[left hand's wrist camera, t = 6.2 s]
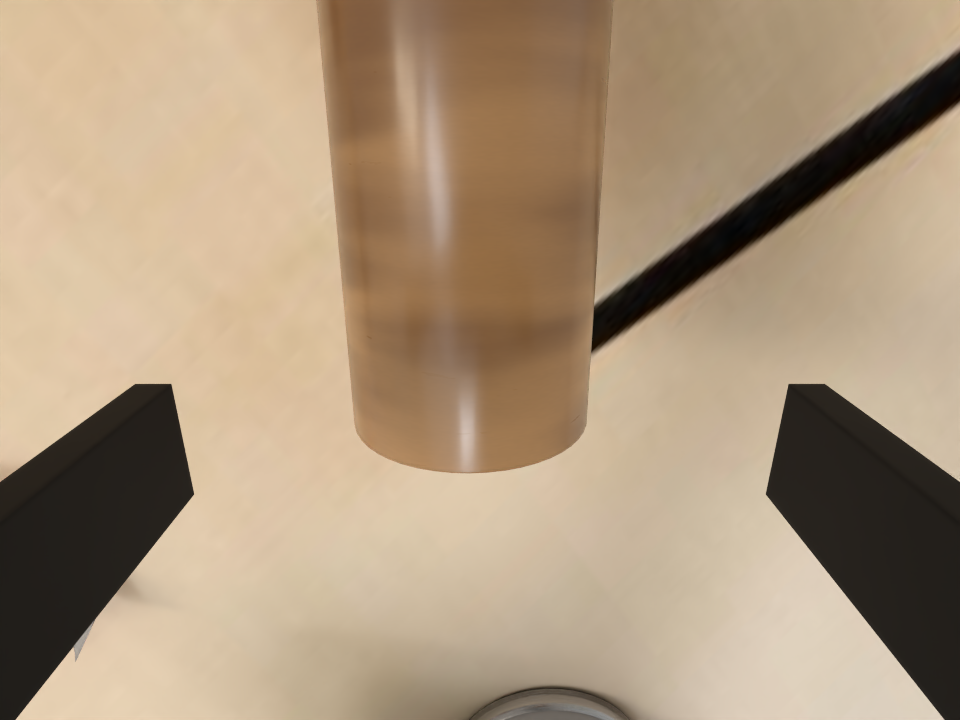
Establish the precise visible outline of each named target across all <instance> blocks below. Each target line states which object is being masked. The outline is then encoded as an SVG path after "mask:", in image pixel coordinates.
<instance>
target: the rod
mask: <svg viewBox="0 0 960 720" xmlns="http://www.w3.org/2000/svg"><path fill="white" fill-rule="evenodd" d="M317 10H318V21H319V33H320V44H321V55H322V66H323V77H324V88H325V99H326V110H327V121H328V133H329V144H330V155H331V166H332V177H333V188H334V199H335V210H336V221H337V233H338V244H339V255H340V266H341V277H342V288H343V299H344V310H345V321H346V333H347V344H348V355H349V366H350V377H351V388H352V399H353V410H354V421H355V428H356V431H357V434H358V435H359V437H360V438H361V440H362V441H363V442H364V443H365V444H366V445H367V446H368V447H369V448H370V449H372V450H373V451H375V452H376V453H378V454H380V455H382V456H384V457H386V458H388V459H390V460H392V461H395V462H398V463H401V464H404V465H408V466H411V467H415V468H420V469H426V470H431V471H439V472H450V473H485V472H496V471H504V470H510V469H515V468H521V467H525V466H528V465H532V464H536V463H539V462H541V461H544V460H547V459H549V458H552V457H554V456H556V455H558V454H560V453H562V452H563V451H565V450H566V449H568V448H569V447H571V446H572V445H573V444H574V443H575V442H576V441H577V440H578V439H579V438H580V436H581V435H582V433H583V432H584V429H585V427H586V421H587V405H588V390H589V374H590V358H591V342H592V327H593V311H594V295H595V279H596V264H597V248H598V232H599V216H600V201H601V185H602V169H603V153H604V138H605V122H606V106H607V90H608V74H609V59H610V43H611V27H612V11H613V0H317Z"/></svg>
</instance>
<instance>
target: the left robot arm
mask: <svg viewBox="0 0 960 720" xmlns="http://www.w3.org/2000/svg"><path fill="white" fill-rule="evenodd" d="M193 495H194V491H193V487H192V482H191V477H190V472H189V467H188V462H187V458H186V453H185V448H184V443H183V438H182V433H181V429H180V424H179V419H178V414H177V409H176V404H175V400H174V395H173V390H172V385H171V384H135V385H133V386H132V387H131V388H129V389H128V390H126V391H125V392H124V393H122V394H121V395H120V396H118V397H117V398H115V399H114V400H113V401H111V402H110V403H108V404H107V405H106V406H104V407H103V408H102V409H100V410H99V411H97V412H96V413H95V414H93V415H92V416H91V417H89V418H88V419H86V420H85V421H84V422H82V423H81V424H80V425H78V426H77V427H75V428H74V429H73V430H71V431H70V432H69V433H67V434H66V435H64V436H63V437H62V438H60V439H59V440H58V441H56V442H55V443H53V444H52V445H51V446H49V447H48V448H47V449H45V450H44V451H42V452H41V453H40V454H38V455H37V456H35V457H34V458H33V459H31V460H30V461H29V462H27V463H26V464H24V465H23V466H22V467H20V468H19V469H18V470H16V471H15V472H13V473H12V474H11V475H9V476H8V477H7V478H5V479H4V480H2V481H1V482H0V720H16V718H17V717H18V716H19V715H20V713H21V712H22V711H23V709H24V708H25V707H26V706H27V704H28V703H29V702H30V701H31V699H32V698H33V697H34V696H35V694H36V693H37V692H38V691H39V689H40V688H41V687H42V686H43V684H44V683H45V682H46V680H47V679H48V678H49V677H50V675H51V674H52V673H53V672H54V670H55V669H56V668H57V667H58V665H59V664H60V663H61V662H62V660H63V659H64V658H65V657H66V655H67V654H68V653H69V651H70V650H71V649H72V648H73V646H74V645H75V644H76V643H77V641H78V640H79V639H80V638H81V636H82V635H83V634H84V633H85V631H86V630H87V629H88V628H89V626H90V625H91V624H92V622H93V621H94V620H95V619H96V617H97V616H98V615H99V614H100V612H101V611H102V610H103V609H104V607H105V606H106V605H107V604H108V602H109V601H110V600H111V599H112V597H113V596H114V595H115V593H116V592H117V591H118V590H119V588H120V587H121V586H122V585H123V583H124V582H125V581H126V580H127V578H128V577H129V576H130V575H131V573H132V572H133V571H134V570H135V568H136V567H137V566H138V564H139V563H140V562H141V561H142V559H143V558H144V557H145V556H146V554H147V553H148V552H149V551H150V549H151V548H152V547H153V546H154V544H155V543H156V542H157V541H158V539H159V538H160V537H161V535H162V534H163V533H164V532H165V530H166V529H167V528H168V527H169V525H170V524H171V523H172V522H173V520H174V519H175V518H176V517H177V515H178V514H179V513H180V511H181V510H182V509H183V508H184V506H185V505H186V504H187V503H188V501H189V500H190V499H191V498H192V496H193ZM766 495H767V496H768V498H769V499H770V500H771V501H772V503H773V504H774V505H775V506H776V508H777V509H778V510H779V511H780V513H781V514H782V515H783V517H784V518H785V519H786V520H787V522H788V523H789V524H790V525H791V527H792V528H793V529H794V530H795V532H796V533H797V534H798V535H799V537H800V538H801V539H802V541H803V542H804V543H805V544H806V546H807V547H808V548H809V549H810V551H811V552H812V553H813V554H814V556H815V557H816V558H817V559H818V561H819V562H820V563H821V564H822V566H823V567H824V568H825V570H826V571H827V572H828V573H829V575H830V576H831V577H832V578H833V580H834V581H835V582H836V583H837V585H838V586H839V587H840V588H841V590H842V591H843V592H844V593H845V595H846V596H847V597H848V599H849V600H850V601H851V602H852V604H853V605H854V606H855V607H856V609H857V610H858V611H859V612H860V614H861V615H862V616H863V617H864V619H865V620H866V621H867V622H868V624H869V625H870V626H871V628H872V629H873V630H874V631H875V633H876V634H877V635H878V636H879V638H880V639H881V640H882V641H883V643H884V644H885V645H886V646H887V648H888V649H889V650H890V651H891V653H892V654H893V655H894V657H895V658H896V659H897V660H898V662H899V663H900V664H901V665H902V667H903V668H904V669H905V670H906V672H907V673H908V674H909V675H910V677H911V678H912V679H913V680H914V682H915V683H916V684H917V686H918V687H919V688H920V689H921V691H922V692H923V693H924V694H925V696H926V697H927V698H928V699H929V701H930V702H931V703H932V704H933V706H934V707H935V708H936V709H937V711H938V712H939V713H940V715H941V716H942V717H943V718H944V720H960V482H959V481H958V480H956V479H955V478H953V477H952V476H951V475H949V474H948V473H947V472H945V471H944V470H942V469H941V468H940V467H938V466H937V465H936V464H934V463H933V462H931V461H930V460H929V459H927V458H926V457H925V456H923V455H922V454H920V453H919V452H918V451H916V450H915V449H913V448H912V447H911V446H909V445H908V444H907V443H905V442H904V441H902V440H901V439H900V438H898V437H897V436H896V435H894V434H893V433H891V432H890V431H889V430H887V429H886V428H885V427H883V426H882V425H880V424H879V423H878V422H876V421H875V420H874V419H872V418H871V417H869V416H868V415H867V414H865V413H864V412H863V411H861V410H860V409H858V408H857V407H856V406H854V405H853V404H852V403H850V402H849V401H847V400H846V399H845V398H843V397H842V396H840V395H839V394H838V393H836V392H835V391H834V390H832V389H831V388H829V387H828V386H827V385H825V384H789V385H788V390H787V395H786V400H785V404H784V409H783V414H782V419H781V424H780V429H779V433H778V438H777V443H776V448H775V453H774V458H773V462H772V467H771V472H770V477H769V482H768V487H767V491H766ZM470 720H629V719H628V718H627V716H626V715H625V714H624V713H622V712H621V711H620V710H619V709H617V708H616V707H615V706H613V705H612V704H610V703H608V702H606V701H605V700H602V699H600V698H598V697H595V696H592V695H590V694H586V693H583V692H578V691H573V690H565V689H537V690H530V691H524V692H520V693H516V694H512V695H510V696H507V697H504V698H501V699H499V700H497V701H495V702H493V703H491V704H489V705H488V706H486V707H484V708H483V709H482V710H480V711H479V712H478V713H476V714H475V715H474V716H473V717H472V718H471V719H470Z"/></svg>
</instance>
